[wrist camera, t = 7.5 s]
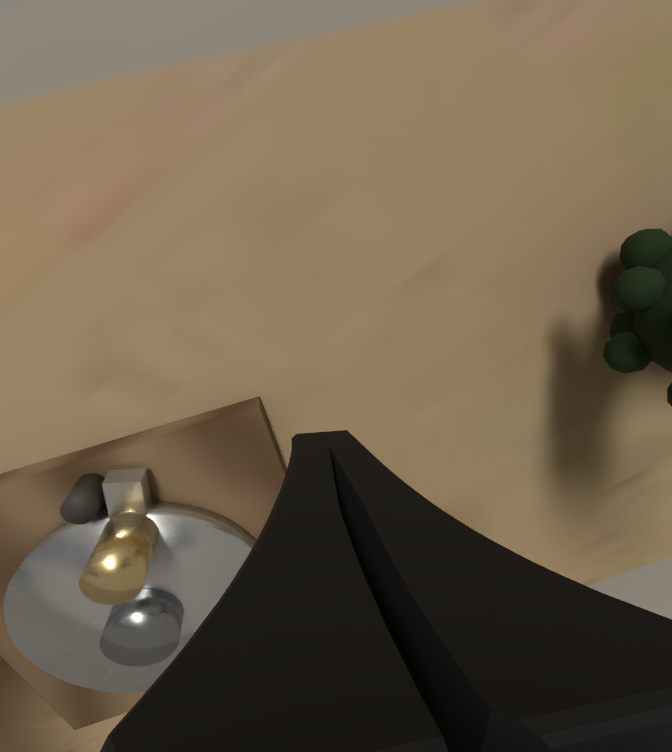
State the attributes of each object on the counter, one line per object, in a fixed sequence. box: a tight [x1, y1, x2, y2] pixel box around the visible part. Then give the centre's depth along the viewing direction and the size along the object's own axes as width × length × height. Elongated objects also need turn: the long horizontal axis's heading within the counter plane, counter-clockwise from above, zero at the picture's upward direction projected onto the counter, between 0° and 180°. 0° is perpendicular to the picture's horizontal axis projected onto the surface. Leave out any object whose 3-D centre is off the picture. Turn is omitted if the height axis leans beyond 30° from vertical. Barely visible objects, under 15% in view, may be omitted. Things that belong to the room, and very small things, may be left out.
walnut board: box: [0, 397, 287, 730], centre depth 22 cm, size 18×18×3 cm
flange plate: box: [3, 468, 256, 693], centre depth 20 cm, size 15×13×4 cm
